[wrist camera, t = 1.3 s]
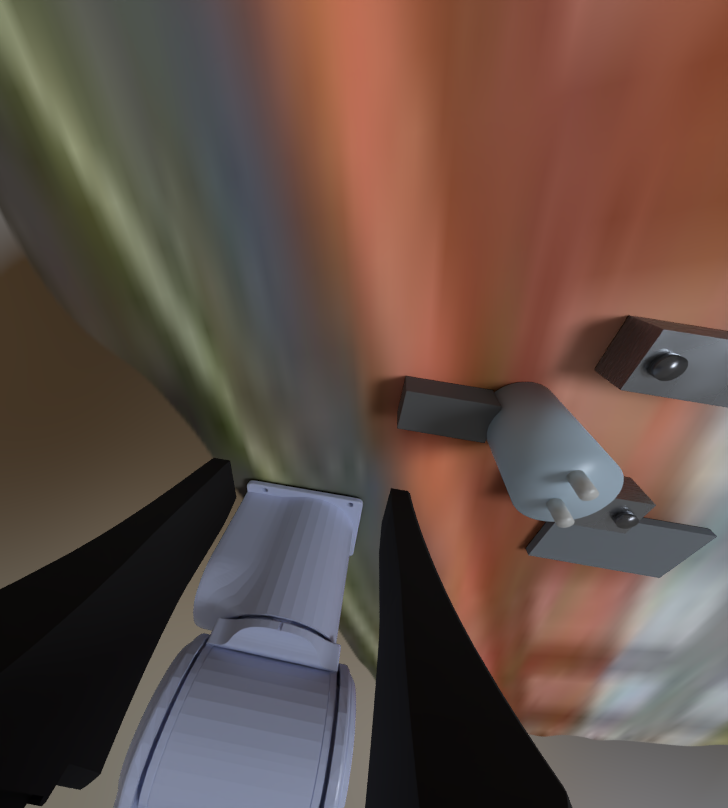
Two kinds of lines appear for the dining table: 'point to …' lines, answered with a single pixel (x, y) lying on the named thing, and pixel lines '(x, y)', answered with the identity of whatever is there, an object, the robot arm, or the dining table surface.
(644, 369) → the channel
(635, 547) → the grey flat plate
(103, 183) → the dining table surface
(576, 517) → the plug
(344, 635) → the dining table surface
